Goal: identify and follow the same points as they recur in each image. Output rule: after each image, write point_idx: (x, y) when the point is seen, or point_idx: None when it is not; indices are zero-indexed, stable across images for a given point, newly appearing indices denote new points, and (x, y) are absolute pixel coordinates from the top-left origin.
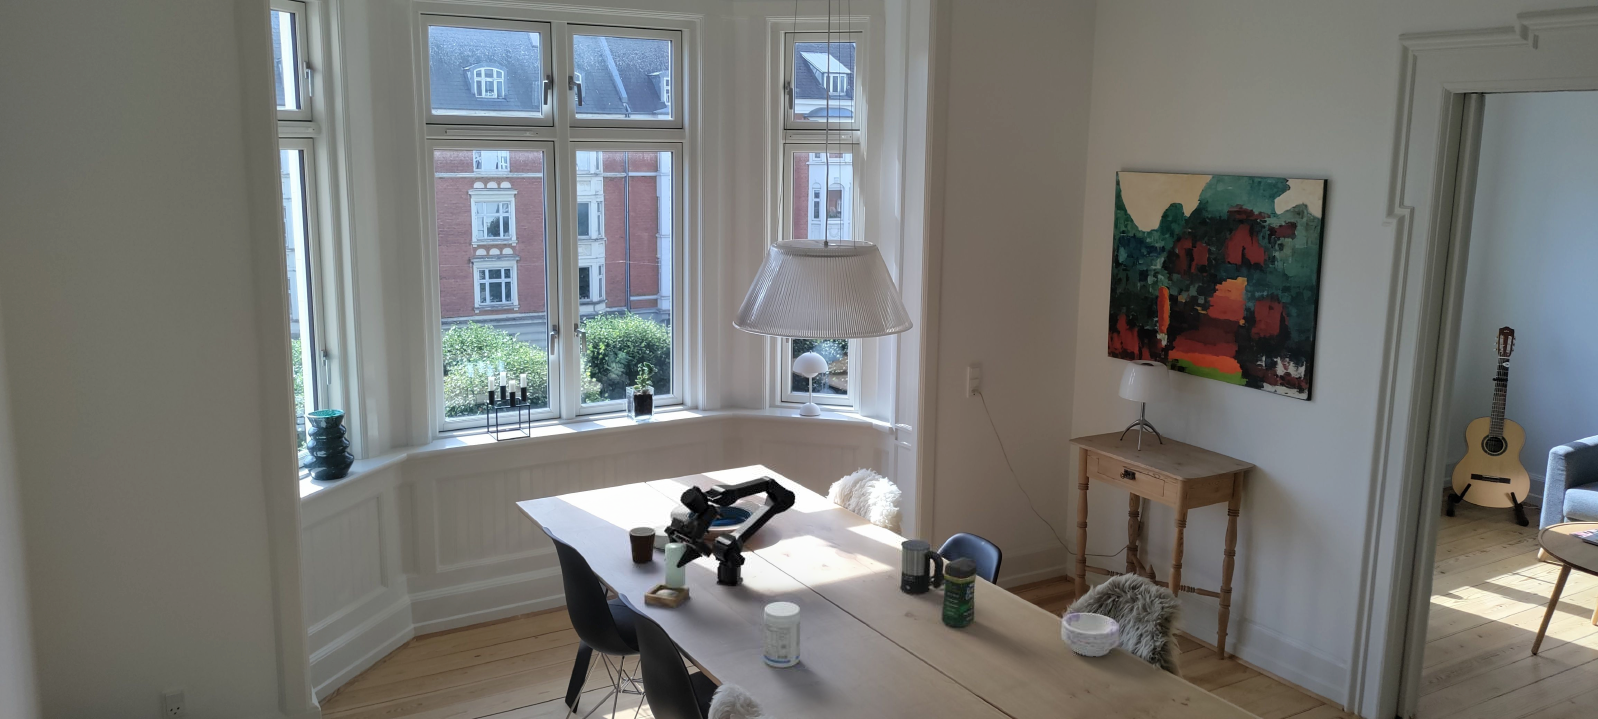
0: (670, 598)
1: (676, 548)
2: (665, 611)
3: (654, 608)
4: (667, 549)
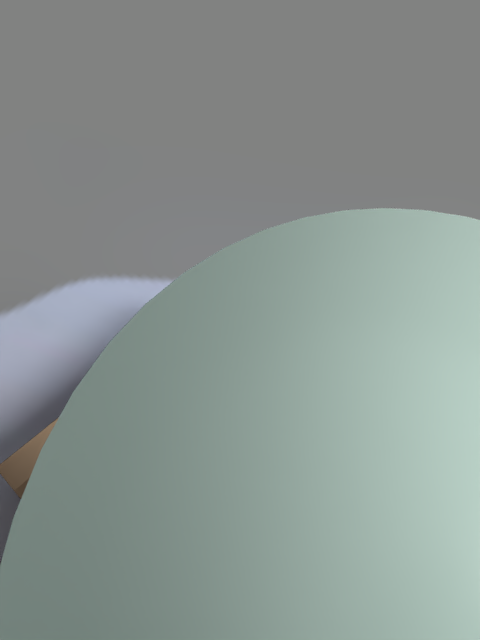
0: (43, 440)
1: (170, 532)
2: (4, 393)
3: (95, 346)
4: (297, 237)
